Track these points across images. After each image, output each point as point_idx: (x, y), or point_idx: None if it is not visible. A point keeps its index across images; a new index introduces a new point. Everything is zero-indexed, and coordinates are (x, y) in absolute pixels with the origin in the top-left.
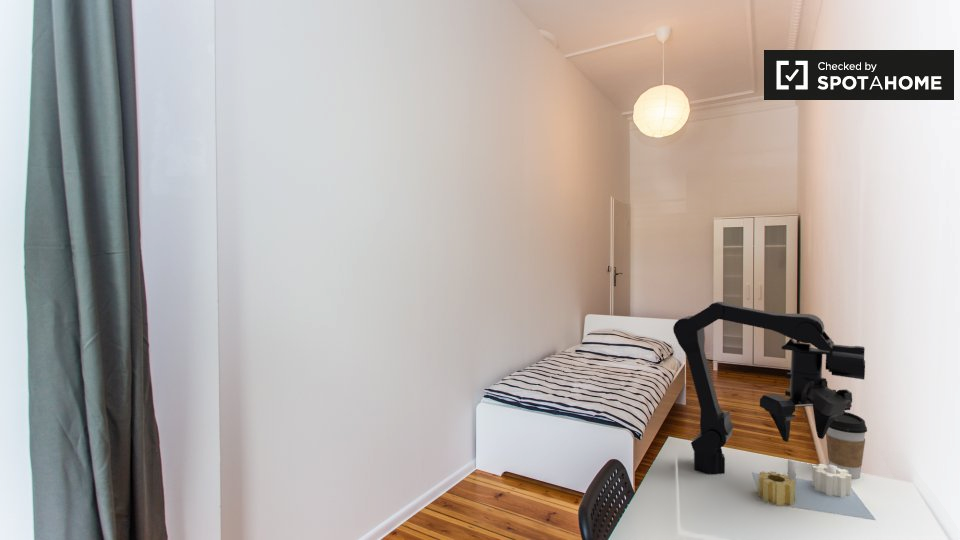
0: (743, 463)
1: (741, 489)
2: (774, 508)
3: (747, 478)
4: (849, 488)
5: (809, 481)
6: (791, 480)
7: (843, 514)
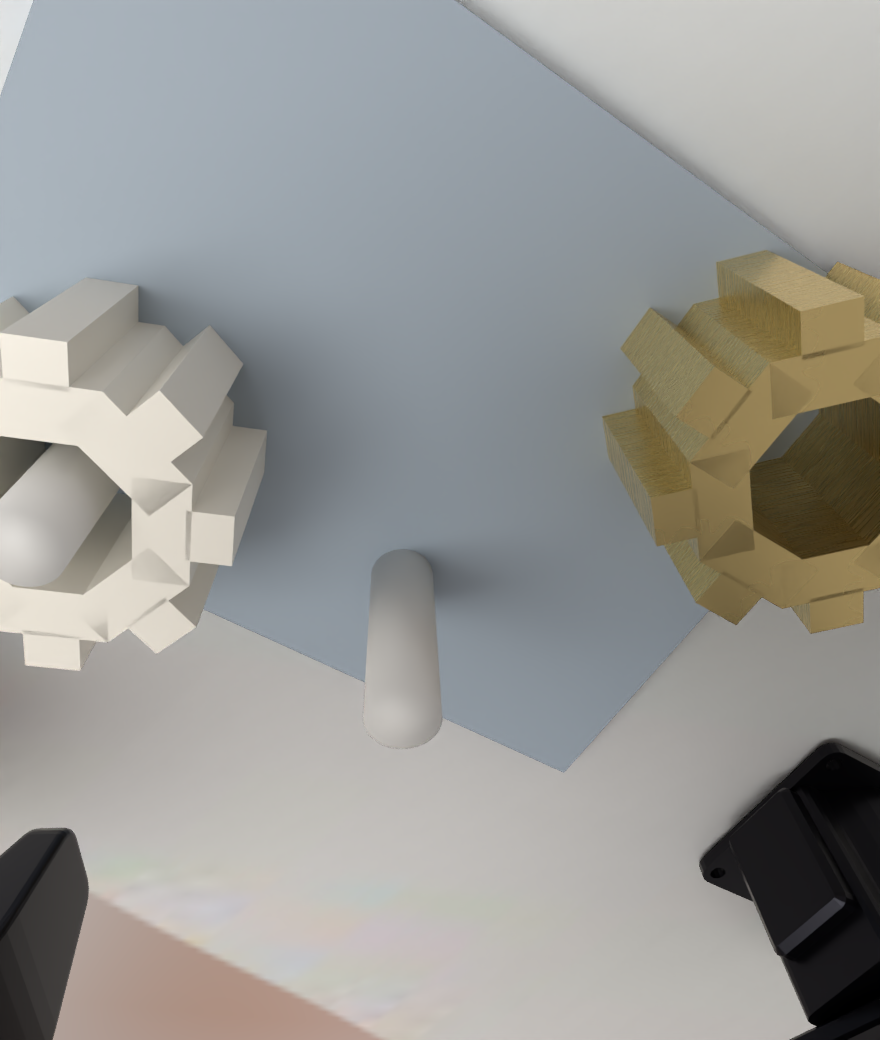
0: (462, 896)
1: None
2: None
3: (626, 727)
4: None
5: None
6: (721, 408)
7: None
